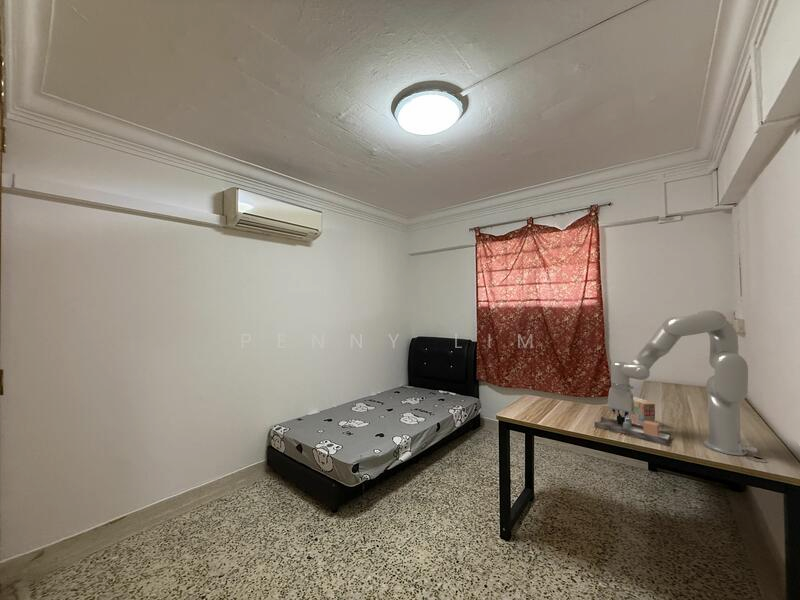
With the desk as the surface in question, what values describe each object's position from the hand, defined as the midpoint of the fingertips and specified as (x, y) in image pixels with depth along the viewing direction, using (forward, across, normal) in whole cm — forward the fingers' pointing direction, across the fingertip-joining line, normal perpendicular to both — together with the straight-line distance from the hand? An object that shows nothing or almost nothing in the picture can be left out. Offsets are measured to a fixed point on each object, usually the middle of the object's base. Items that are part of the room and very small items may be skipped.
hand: (620, 423), depth 153 cm
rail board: (+3, -4, 0) cm, 5 cm away
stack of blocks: (+4, 0, -22) cm, 23 cm away
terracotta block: (+1, -12, 0) cm, 12 cm away
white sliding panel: (+2, -10, 0) cm, 10 cm away
